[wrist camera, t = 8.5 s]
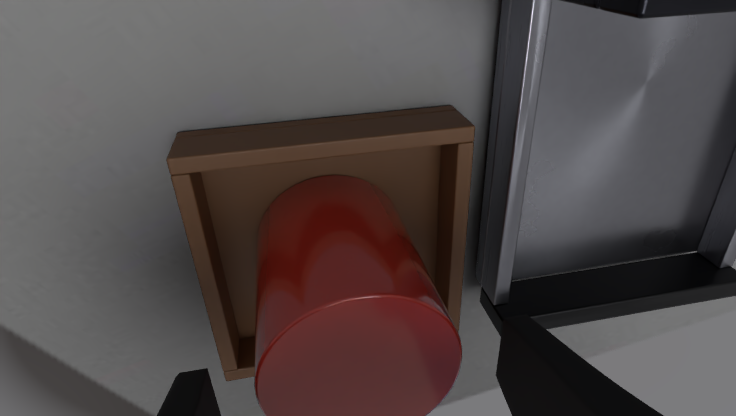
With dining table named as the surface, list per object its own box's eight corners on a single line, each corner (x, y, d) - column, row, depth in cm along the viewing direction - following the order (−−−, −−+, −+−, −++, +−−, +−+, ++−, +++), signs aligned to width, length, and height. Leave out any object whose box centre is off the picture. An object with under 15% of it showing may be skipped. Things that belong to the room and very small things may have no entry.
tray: (441, 306, 20) (458, 341, 18) (229, 340, 18) (225, 382, 17) (452, 104, 15) (476, 126, 14) (176, 131, 14) (165, 159, 12)
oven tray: (691, 257, 21) (742, 295, 19) (473, 292, 19) (500, 338, 17) (866, -211, 13) (990, -241, 11) (521, -212, 12) (583, -246, 9)
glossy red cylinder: (401, 286, 18) (457, 424, 13) (267, 306, 17) (270, 463, 12) (401, 165, 16) (470, 279, 10) (244, 184, 15) (236, 315, 10)
